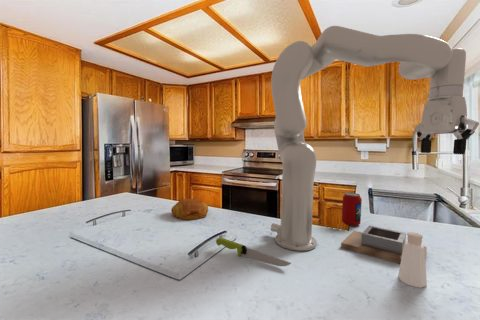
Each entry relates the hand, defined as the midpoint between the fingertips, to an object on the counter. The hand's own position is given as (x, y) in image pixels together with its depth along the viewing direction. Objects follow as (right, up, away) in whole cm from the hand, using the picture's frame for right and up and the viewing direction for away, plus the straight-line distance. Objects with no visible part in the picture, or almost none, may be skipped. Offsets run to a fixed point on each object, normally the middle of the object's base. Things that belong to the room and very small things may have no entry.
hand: (441, 153), depth 71 cm
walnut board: (-17, -29, +1) cm, 33 cm away
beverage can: (-15, -28, +24) cm, 40 cm away
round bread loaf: (-80, -26, +31) cm, 90 cm away
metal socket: (-17, -27, +1) cm, 32 cm away
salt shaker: (-20, -30, -16) cm, 39 cm away
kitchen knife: (-56, -29, -7) cm, 64 cm away
